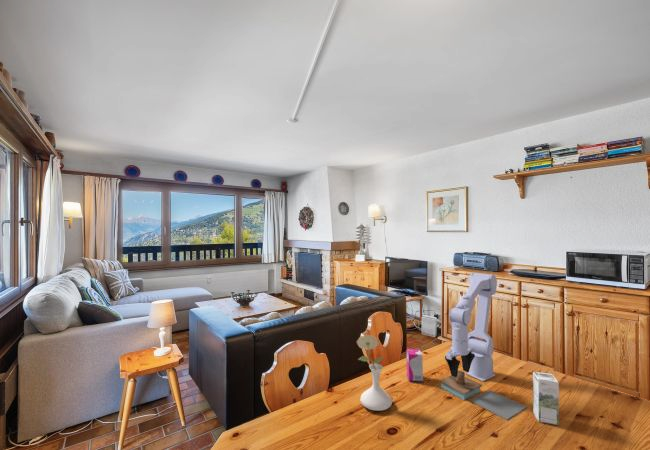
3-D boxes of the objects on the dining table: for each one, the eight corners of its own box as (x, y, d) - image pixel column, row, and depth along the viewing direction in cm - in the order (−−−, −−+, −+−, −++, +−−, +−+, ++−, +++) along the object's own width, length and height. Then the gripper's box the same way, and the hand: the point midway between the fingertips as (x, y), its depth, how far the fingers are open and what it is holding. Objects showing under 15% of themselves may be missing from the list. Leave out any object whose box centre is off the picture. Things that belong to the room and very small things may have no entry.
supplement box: (420, 375, 131) (419, 349, 131) (423, 382, 125) (423, 354, 125) (406, 375, 131) (406, 348, 131) (408, 381, 125) (408, 354, 125)
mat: (490, 391, 118) (490, 390, 118) (526, 407, 107) (526, 406, 107) (470, 401, 111) (470, 400, 111) (507, 420, 100) (507, 419, 100)
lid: (456, 374, 126) (456, 363, 126) (481, 386, 117) (481, 374, 117) (439, 381, 120) (439, 370, 120) (464, 394, 111) (464, 382, 111)
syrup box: (552, 415, 102) (551, 373, 103) (559, 426, 97) (559, 381, 97) (532, 412, 104) (532, 370, 104) (538, 422, 99) (538, 378, 99)
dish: (456, 381, 125) (456, 375, 125) (479, 392, 117) (479, 386, 117) (441, 388, 120) (441, 382, 120) (464, 400, 112) (464, 393, 112)
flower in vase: (395, 400, 112) (394, 332, 112) (388, 417, 101) (387, 343, 102) (361, 392, 117) (361, 328, 118) (351, 408, 107) (351, 337, 107)
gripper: (461, 332, 126) (462, 365, 126) (439, 339, 118) (439, 374, 118) (478, 337, 120) (478, 372, 120) (455, 345, 112) (455, 381, 112)
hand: (460, 373), depth 118 cm, fingers open, 7 cm apart
